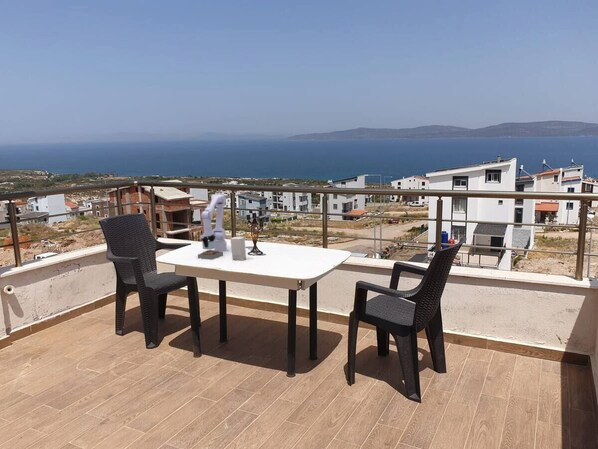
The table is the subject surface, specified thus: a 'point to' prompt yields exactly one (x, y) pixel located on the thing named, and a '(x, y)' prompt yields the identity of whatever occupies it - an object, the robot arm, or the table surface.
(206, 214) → the robot arm
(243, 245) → the skincare box
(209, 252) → the walnut block
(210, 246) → the carton
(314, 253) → the table surface
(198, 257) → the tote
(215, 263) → the table surface
